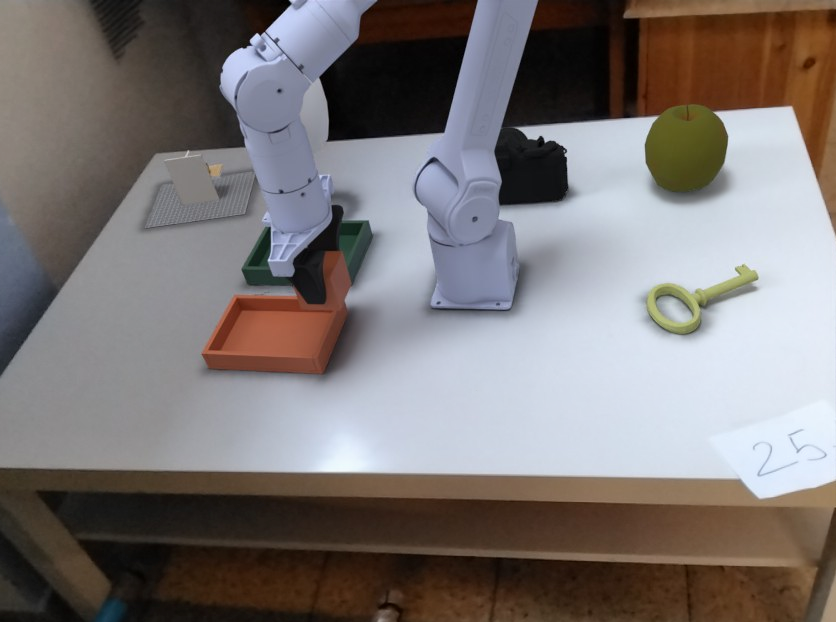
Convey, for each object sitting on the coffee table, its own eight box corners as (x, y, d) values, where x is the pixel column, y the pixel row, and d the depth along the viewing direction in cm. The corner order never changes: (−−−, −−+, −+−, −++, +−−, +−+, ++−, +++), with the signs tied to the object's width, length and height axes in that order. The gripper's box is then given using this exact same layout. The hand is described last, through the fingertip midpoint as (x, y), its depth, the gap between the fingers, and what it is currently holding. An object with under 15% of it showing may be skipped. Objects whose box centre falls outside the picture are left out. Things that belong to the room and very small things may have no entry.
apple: (678, 215, 101) (683, 135, 93) (627, 183, 107) (628, 105, 100) (740, 183, 103) (751, 102, 96) (687, 153, 110) (692, 75, 102)
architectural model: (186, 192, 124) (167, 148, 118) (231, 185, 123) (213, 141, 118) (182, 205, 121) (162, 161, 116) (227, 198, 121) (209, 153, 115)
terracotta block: (351, 283, 91) (342, 250, 87) (340, 310, 88) (330, 278, 84) (313, 283, 92) (303, 250, 89) (301, 310, 89) (289, 277, 86)
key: (761, 286, 90) (764, 270, 89) (680, 341, 86) (681, 326, 85) (710, 257, 95) (711, 242, 93) (631, 308, 91) (631, 294, 90)
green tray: (373, 235, 108) (368, 219, 107) (351, 286, 102) (346, 270, 100) (274, 235, 112) (268, 220, 110) (247, 284, 105) (240, 269, 104)
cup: (363, 208, 113) (326, 63, 98) (318, 232, 111) (272, 86, 96) (338, 188, 118) (298, 46, 103) (294, 210, 116) (247, 68, 101)
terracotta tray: (348, 312, 98) (343, 296, 97) (323, 374, 92) (317, 358, 90) (240, 309, 102) (234, 294, 100) (208, 368, 95) (201, 353, 94)
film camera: (570, 163, 113) (567, 101, 106) (568, 204, 106) (565, 142, 100) (461, 169, 116) (452, 110, 110) (452, 210, 110) (442, 150, 103)
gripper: (275, 138, 85) (309, 244, 95) (222, 222, 75) (266, 331, 85) (339, 136, 83) (367, 244, 93) (293, 222, 74) (330, 333, 83)
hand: (323, 286), depth 89 cm, fingers closed on terracotta block, 4 cm apart
